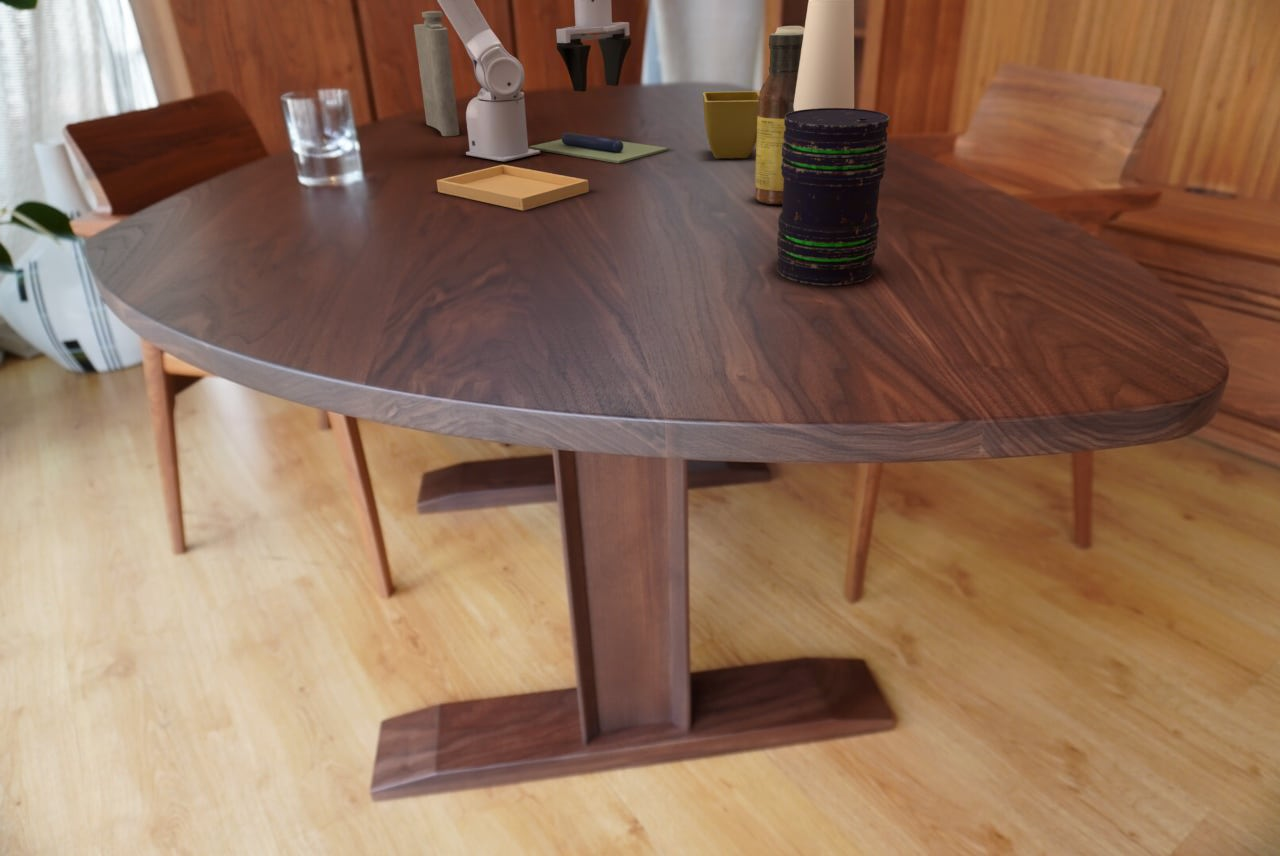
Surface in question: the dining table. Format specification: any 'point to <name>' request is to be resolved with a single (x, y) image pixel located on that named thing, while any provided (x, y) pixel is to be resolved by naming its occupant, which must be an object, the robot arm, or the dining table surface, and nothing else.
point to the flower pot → (731, 122)
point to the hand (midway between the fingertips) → (596, 88)
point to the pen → (592, 142)
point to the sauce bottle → (775, 114)
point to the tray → (513, 187)
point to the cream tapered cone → (827, 57)
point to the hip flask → (436, 74)
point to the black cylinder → (831, 194)
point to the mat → (601, 151)
